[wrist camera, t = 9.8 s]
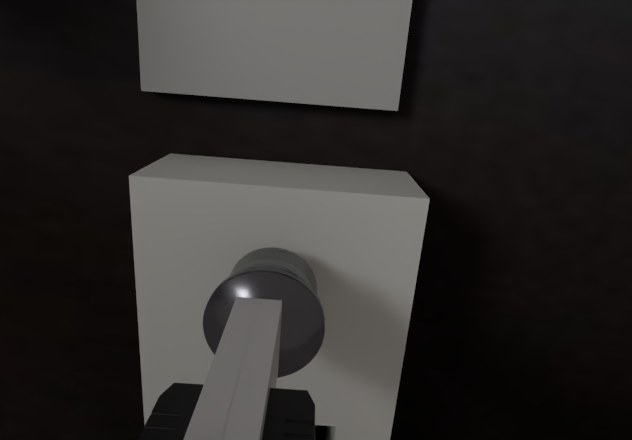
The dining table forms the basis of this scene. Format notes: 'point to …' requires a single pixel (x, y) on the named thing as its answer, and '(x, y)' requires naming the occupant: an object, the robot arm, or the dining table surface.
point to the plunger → (276, 284)
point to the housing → (293, 235)
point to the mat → (276, 50)
